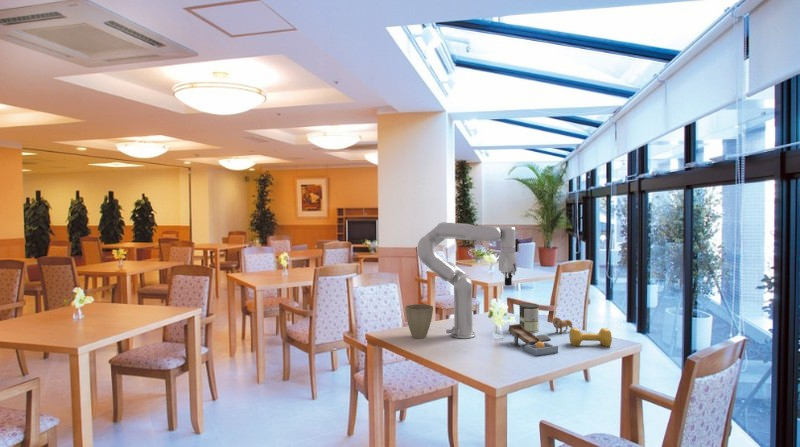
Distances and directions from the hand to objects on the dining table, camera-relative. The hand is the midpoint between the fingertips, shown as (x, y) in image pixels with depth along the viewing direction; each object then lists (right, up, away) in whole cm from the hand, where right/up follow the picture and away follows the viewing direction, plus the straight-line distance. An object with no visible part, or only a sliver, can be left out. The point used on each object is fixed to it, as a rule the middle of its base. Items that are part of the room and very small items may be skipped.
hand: (508, 285), depth 249 cm
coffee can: (+14, -27, +13) cm, 33 cm away
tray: (+9, -28, -26) cm, 39 cm away
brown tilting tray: (+7, -25, -12) cm, 29 cm away
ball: (+9, -25, -25) cm, 37 cm away
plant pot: (-46, -28, +3) cm, 54 cm away
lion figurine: (+31, -27, +8) cm, 42 cm away
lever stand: (+4, -27, -14) cm, 31 cm away
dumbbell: (+37, -28, -16) cm, 48 cm away
